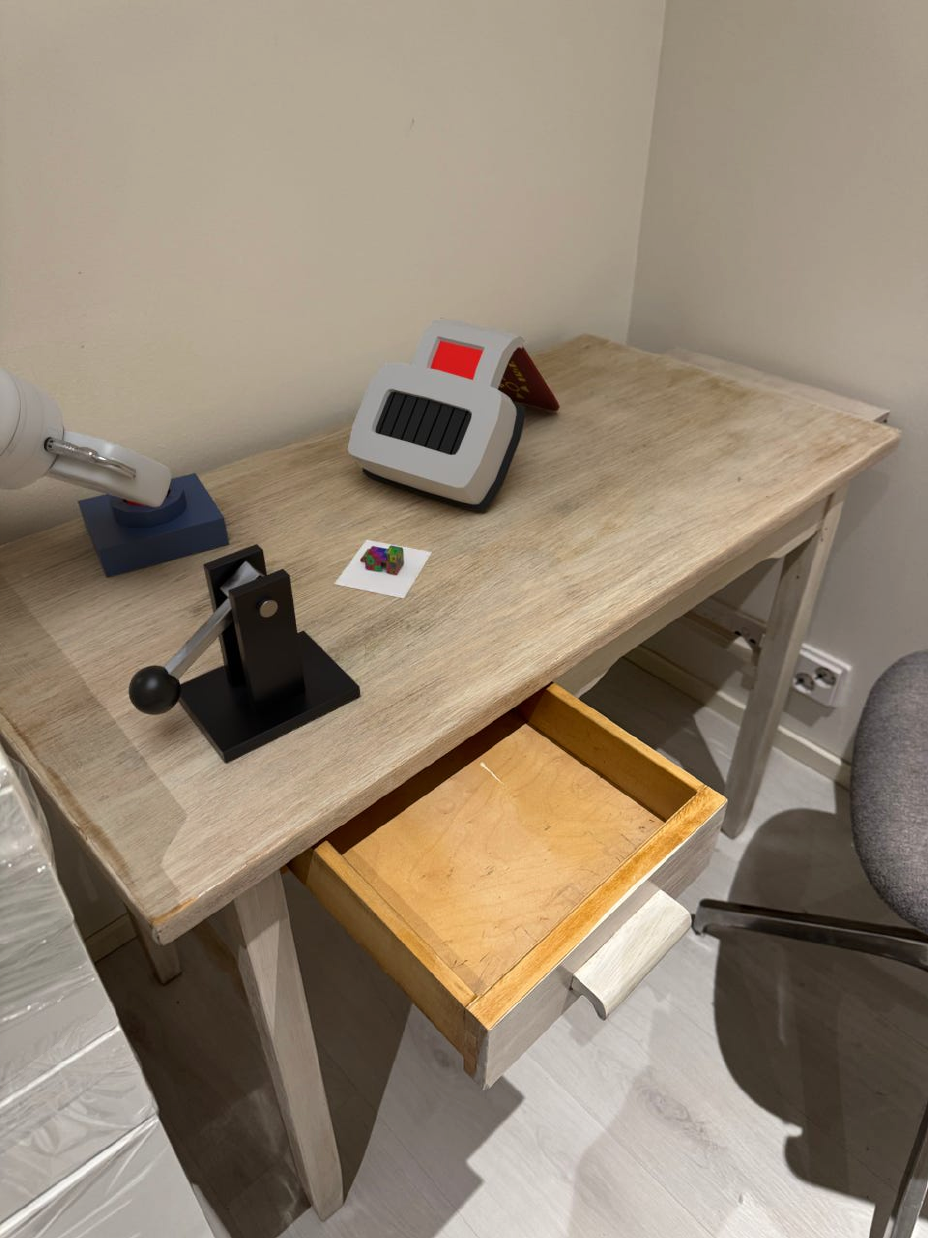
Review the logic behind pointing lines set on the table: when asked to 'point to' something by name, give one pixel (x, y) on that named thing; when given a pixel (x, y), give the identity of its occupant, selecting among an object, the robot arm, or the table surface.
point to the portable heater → (449, 414)
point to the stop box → (153, 527)
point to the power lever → (184, 655)
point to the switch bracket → (261, 665)
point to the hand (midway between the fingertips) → (117, 482)
